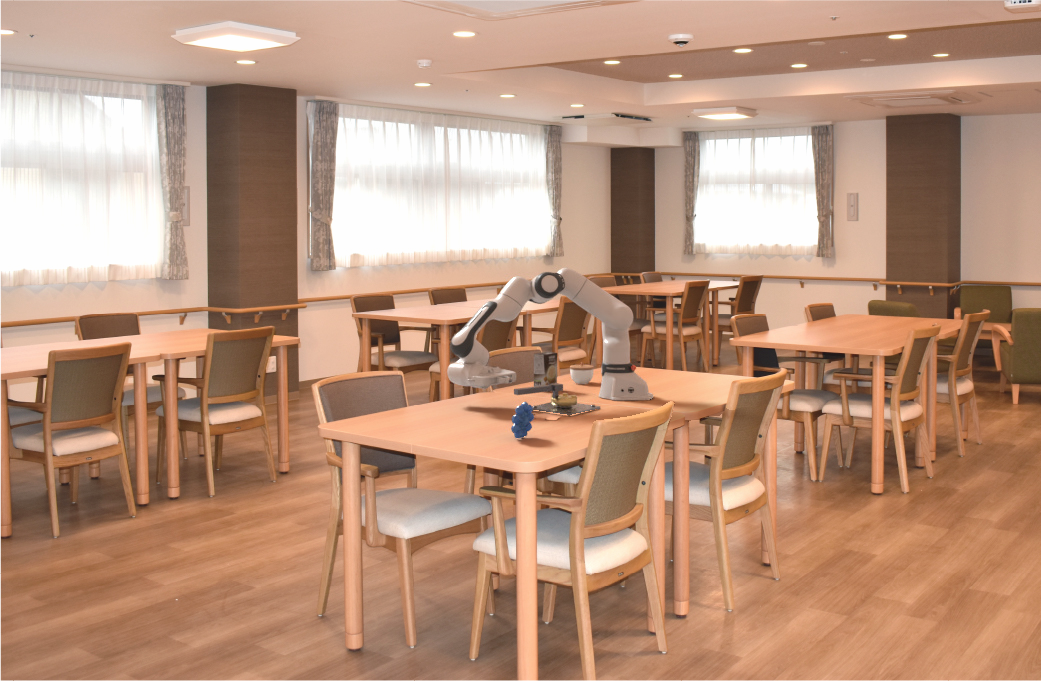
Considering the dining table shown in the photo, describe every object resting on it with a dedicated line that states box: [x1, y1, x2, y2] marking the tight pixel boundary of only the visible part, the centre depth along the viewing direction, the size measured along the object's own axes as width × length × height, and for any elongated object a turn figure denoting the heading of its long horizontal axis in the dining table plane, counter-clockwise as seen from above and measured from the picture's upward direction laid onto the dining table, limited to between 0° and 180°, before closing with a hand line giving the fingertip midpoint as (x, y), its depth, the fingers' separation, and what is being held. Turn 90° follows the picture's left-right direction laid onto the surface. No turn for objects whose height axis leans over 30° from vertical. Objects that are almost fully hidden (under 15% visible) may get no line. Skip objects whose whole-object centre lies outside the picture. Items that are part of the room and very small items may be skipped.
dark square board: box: [531, 401, 601, 415], centre depth 370 cm, size 20×20×2 cm
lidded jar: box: [569, 361, 595, 385], centre depth 435 cm, size 11×11×9 cm
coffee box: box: [533, 351, 558, 387], centre depth 415 cm, size 9×6×16 cm
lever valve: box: [513, 382, 578, 406], centre depth 364 cm, size 28×10×8 cm, turn 127°
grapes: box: [510, 401, 535, 439], centre depth 318 cm, size 12×7×12 cm, turn 146°
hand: (510, 380), depth 363 cm, fingers closed
